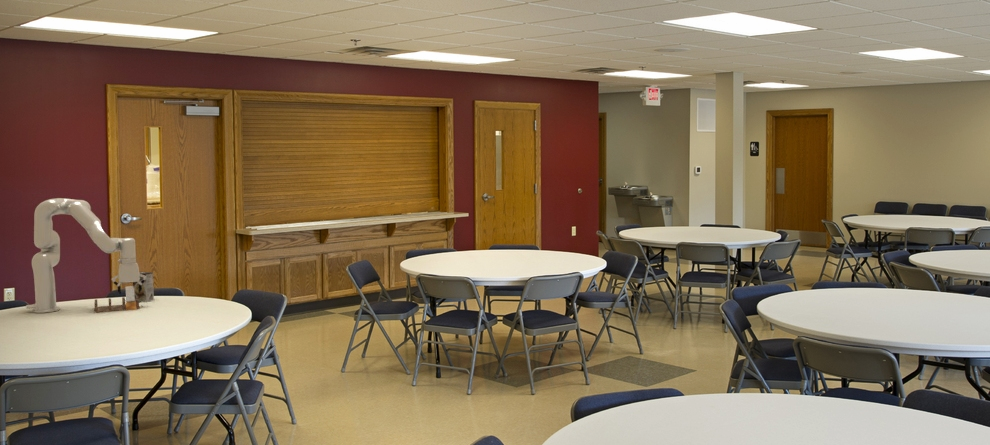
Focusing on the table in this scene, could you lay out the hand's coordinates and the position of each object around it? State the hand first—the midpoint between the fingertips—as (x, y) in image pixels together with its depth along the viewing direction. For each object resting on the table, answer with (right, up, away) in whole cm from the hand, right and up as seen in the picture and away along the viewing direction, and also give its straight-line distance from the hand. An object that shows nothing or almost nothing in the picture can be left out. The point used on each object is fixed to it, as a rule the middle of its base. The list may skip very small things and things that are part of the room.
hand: (129, 292), depth 448 cm
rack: (-6, -8, -2) cm, 10 cm away
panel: (0, -7, +1) cm, 7 cm away
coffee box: (-2, -7, +22) cm, 23 cm away
